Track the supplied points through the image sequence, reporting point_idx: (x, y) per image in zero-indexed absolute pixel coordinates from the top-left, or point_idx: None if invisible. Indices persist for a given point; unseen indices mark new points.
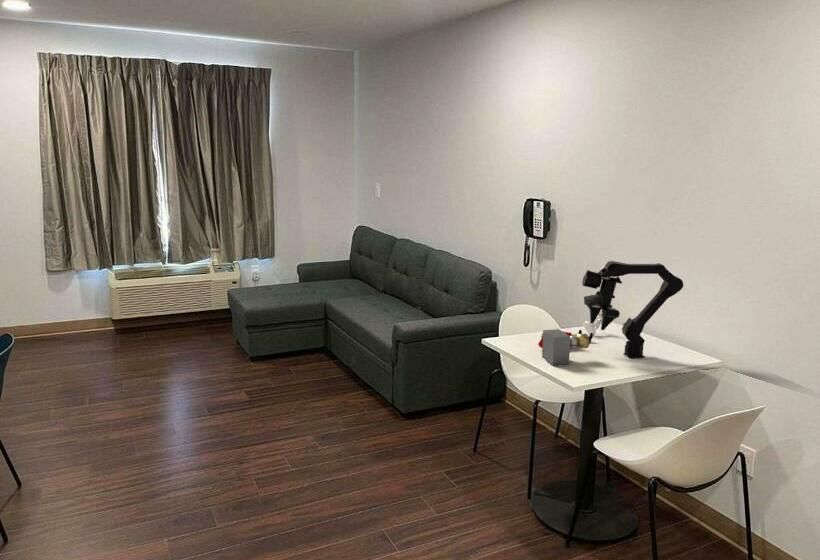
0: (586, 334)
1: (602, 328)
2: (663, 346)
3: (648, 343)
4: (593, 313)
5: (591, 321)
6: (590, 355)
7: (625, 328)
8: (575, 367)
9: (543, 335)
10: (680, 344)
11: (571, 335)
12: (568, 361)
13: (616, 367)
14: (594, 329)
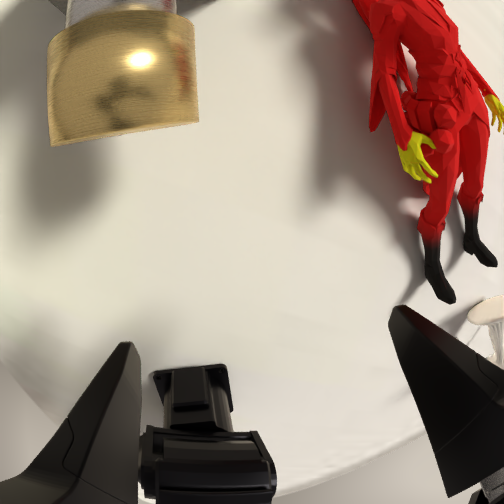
0: (82, 126)
1: (111, 363)
2: (294, 467)
3: (335, 444)
4: (458, 404)
5: (402, 321)
6: (227, 194)
7: (201, 484)
8: (31, 48)
9: None
10: (299, 487)
11: (425, 143)
12: (63, 9)
13: (22, 263)
14: (478, 323)
